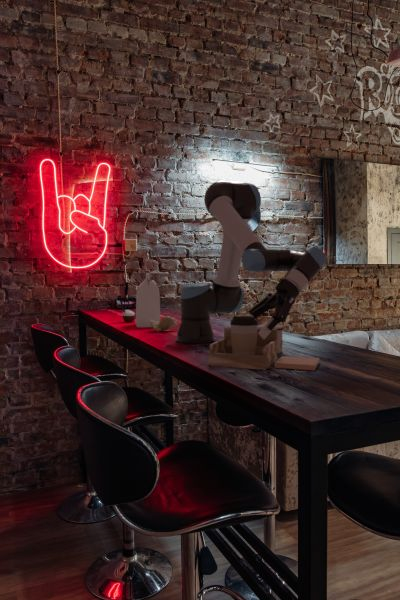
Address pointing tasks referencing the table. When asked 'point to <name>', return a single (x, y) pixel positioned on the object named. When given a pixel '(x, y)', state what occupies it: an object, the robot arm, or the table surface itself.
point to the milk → (147, 303)
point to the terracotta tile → (297, 363)
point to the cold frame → (261, 360)
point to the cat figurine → (163, 323)
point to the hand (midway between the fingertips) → (250, 333)
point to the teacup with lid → (279, 335)
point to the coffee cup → (244, 335)
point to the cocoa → (128, 314)
